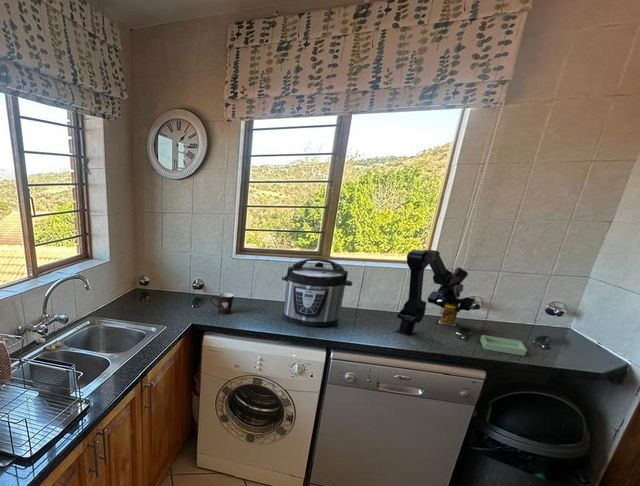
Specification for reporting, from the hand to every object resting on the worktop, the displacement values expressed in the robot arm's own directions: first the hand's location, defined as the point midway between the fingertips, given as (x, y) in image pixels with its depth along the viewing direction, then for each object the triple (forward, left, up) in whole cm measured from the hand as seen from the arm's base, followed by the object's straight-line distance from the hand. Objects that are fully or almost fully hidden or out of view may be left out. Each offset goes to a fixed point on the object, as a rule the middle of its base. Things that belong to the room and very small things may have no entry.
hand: (452, 310), depth 205 cm
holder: (-20, -28, -7) cm, 36 cm away
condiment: (-1, 0, -7) cm, 7 cm away
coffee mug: (-88, +75, -7) cm, 116 cm away
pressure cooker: (-59, +40, -7) cm, 72 cm away
